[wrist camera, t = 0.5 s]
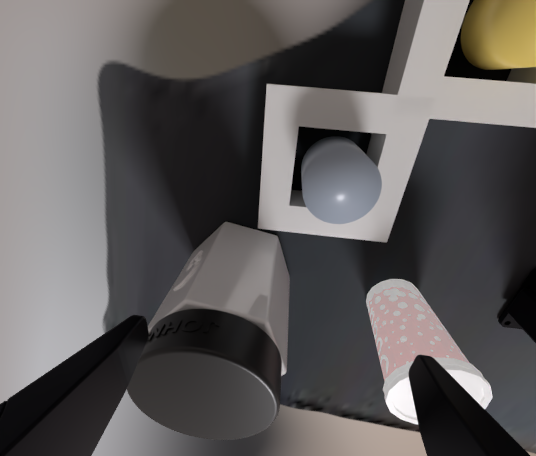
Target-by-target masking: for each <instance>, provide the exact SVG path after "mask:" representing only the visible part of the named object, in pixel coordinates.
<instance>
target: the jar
mask: <svg viewBox="0 0 536 456" xmlns="http://www.w3.org/2000/svg"><path fill="white" fill-rule="evenodd" d="M289 283H290V276H289V273H288V270H287V266H286V263H285V259H284V256H283V252H282V249H281V245H280V242H279V238H278V236H276V235H273V234H269V233H266V232H262V231H259V230H255V229H251V228H248V227H244V226H240V225H237V224H233V223H230V222H224V223H223V224H222V225H221V226H220V227H219V228H218V229H217V230H216V231H215V232H214V233H213V234H211V235H210V236H209V237H208V238H207V239H206V240H205V241H204V242H203V243H202V244H201V245H200V246H199V247H198V248H197V249H195V250H194V252H193V253H192V255H191V256H190V258H189V260H188V261H187V263H186V265H185V266H184V268H183V270H182V271H181V273H180V275H179V276H178V278H177V279H176V281H175V283H174V284H173V286H172V288H171V289H170V291H169V293H168V294H167V296H166V298H165V299H164V301H163V302H162V304H161V306H160V307H159V309H158V311H157V312H156V314H155V316H154V317H153V319H152V321H151V322H150V324H149V325H148V331H149V336H148V340H147V342H146V345H145V347H144V350H143V352H142V354H141V357H140V359H139V362H138V364H137V366H136V369H135V371H134V374H133V376H132V378H131V381H130V383H129V385H128V387H127V391H128V394H129V395H130V397H131V399H132V400H133V402H134V403H135V404H136V405H137V407H138V408H139V409H140V410H141V411H142V412H143V413H145V414H146V415H147V416H148V417H150V418H151V419H153V420H155V421H156V422H158V423H159V424H161V425H163V426H165V427H167V428H170V429H172V430H174V431H177V432H180V433H183V434H186V435H190V436H194V437H199V438H206V439H214V440H231V439H240V438H245V437H248V436H252V435H255V434H257V433H259V432H262V431H263V430H265V429H266V428H267V427H269V426H270V425H271V424H272V423H273V421H274V420H275V419H276V417H277V415H278V412H279V407H280V390H281V376H282V375H284V374H285V373H286V371H287V344H288V314H289Z"/></svg>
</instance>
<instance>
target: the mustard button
mask: <svg viewBox="0 0 536 456" xmlns="http://www.w3.org/2000/svg"><path fill="white" fill-rule="evenodd" d="M461 46H462V51H463V53H464V55H465V57H466V59H467V60H468V61H469V62H470V63H471V64H472V65H473V66H475V67H477V68H480V69H485V70H497V69H512V68H527V67H536V0H474V1H473V3H472V4H471V6H470V8H469V10H468V12H467V14H466V16H465V19H464V22H463V25H462V30H461Z"/></svg>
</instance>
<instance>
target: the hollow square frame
mask: <svg viewBox="0 0 536 456" xmlns="http://www.w3.org/2000/svg"><path fill="white" fill-rule="evenodd" d="M469 1H470V0H405V2H404V6H403V10H402V14H401V18H400V22H399V26H398V30H397V34H396V38H395V42H394V46H393V50H392V54H391V58H390V62H389V66H388V70H387V74H386V78H385V82H384V86H383V90H382V93H385V94H394V95H404V96H416V97H423V98H424V97H428V98H436V100H435V103H434V106H433V107H432V108H433V109H432V112H431V115H430V118H429V119H441V120H452V121H463V122H475V123H486V124H498V125H509V126H521V127H532V128H536V67H527V68H512V69H511V72H510V74H509V76H508V78H507V81H495V80H483V79H470V78H458V77H445V76H444V74H445V71H446V68H447V65H448V62H449V60H450V57H451V54H452V51H453V48H454V45H455V42H456V39H457V36H458V33H459V30H460V27H461V25H462V22H463V19H464V16H465V13H466V10H467V7H468V4H469ZM399 98H400V97H399ZM413 99H414V98H413ZM433 100H434V99H433ZM422 102H423V101H422ZM426 102H427V101H426ZM429 102H430V101H429ZM420 103H421V102H420ZM403 104H404V103H403ZM410 104H411V103H410ZM418 104H419V103H418ZM428 104H430V103H428ZM404 105H405V104H404ZM415 105H416V104H415ZM410 106H411V105H410ZM413 106H414V105H413ZM401 107H402V106H401ZM419 107H420V106H419ZM425 107H426V106H425ZM395 109H396V108H395ZM406 109H407V108H406ZM403 111H404V110H403ZM422 111H423V110H422ZM397 112H399V111H397ZM415 112H416V111H415ZM417 113H418V112H417ZM405 115H406V114H405ZM425 115H426V114H425ZM420 117H421V116H420Z"/></svg>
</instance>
